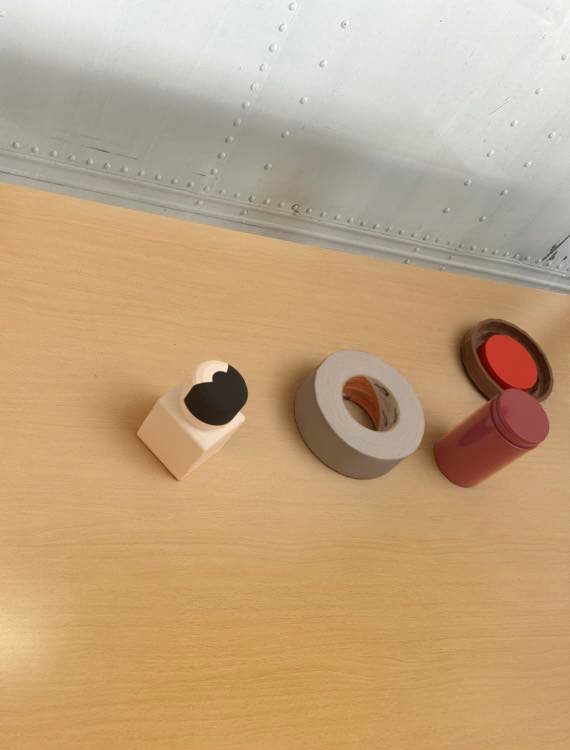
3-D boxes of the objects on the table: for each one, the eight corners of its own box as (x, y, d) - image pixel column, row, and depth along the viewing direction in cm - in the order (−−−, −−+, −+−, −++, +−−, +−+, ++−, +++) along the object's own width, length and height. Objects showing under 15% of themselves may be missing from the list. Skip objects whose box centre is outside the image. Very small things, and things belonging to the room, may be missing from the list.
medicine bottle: (219, 450, 88) (269, 392, 78) (178, 482, 84) (226, 425, 74) (176, 404, 89) (221, 340, 78) (134, 434, 85) (175, 371, 75)
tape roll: (270, 400, 94) (291, 376, 90) (346, 355, 102) (368, 331, 98) (350, 500, 92) (375, 481, 88) (421, 447, 100) (447, 427, 96)
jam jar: (487, 454, 104) (555, 408, 95) (478, 498, 100) (547, 455, 91) (440, 424, 103) (503, 375, 94) (428, 467, 99) (493, 420, 90)
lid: (476, 332, 113) (485, 324, 112) (527, 357, 115) (536, 349, 114) (476, 380, 109) (485, 373, 107) (529, 405, 111) (538, 398, 109)
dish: (544, 363, 117) (558, 353, 115) (533, 430, 110) (547, 421, 108) (468, 313, 115) (480, 301, 113) (451, 377, 108) (464, 367, 106)
